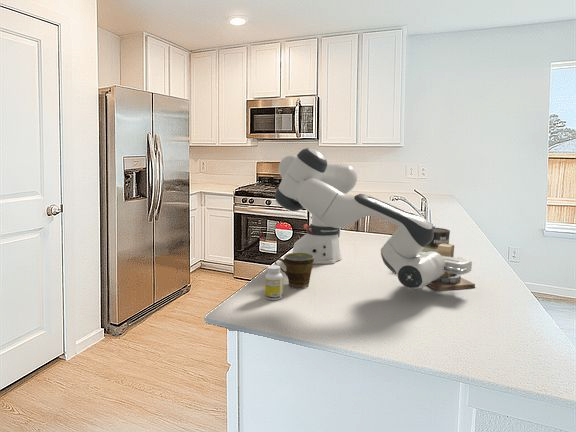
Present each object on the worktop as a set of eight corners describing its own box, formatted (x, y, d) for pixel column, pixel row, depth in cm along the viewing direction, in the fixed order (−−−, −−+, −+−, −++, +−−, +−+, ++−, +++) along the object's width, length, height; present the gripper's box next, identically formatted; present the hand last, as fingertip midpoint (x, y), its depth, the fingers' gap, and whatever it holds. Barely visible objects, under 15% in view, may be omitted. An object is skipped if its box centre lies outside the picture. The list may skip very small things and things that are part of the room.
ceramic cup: (312, 280, 152) (312, 252, 150) (315, 290, 142) (315, 260, 141) (274, 281, 152) (274, 252, 150) (274, 290, 142) (274, 260, 140)
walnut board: (437, 290, 143) (437, 287, 142) (415, 277, 156) (415, 274, 156) (474, 287, 146) (475, 284, 146) (450, 275, 159) (450, 272, 159)
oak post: (447, 281, 148) (450, 247, 146) (436, 279, 150) (438, 245, 149) (451, 279, 151) (454, 244, 149) (440, 276, 153) (442, 243, 152)
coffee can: (453, 267, 170) (455, 231, 167) (429, 269, 167) (432, 232, 165) (437, 260, 179) (439, 226, 177) (415, 262, 177) (417, 227, 174)
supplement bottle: (273, 293, 139) (273, 263, 137) (286, 297, 136) (286, 266, 134) (261, 298, 135) (261, 267, 133) (274, 302, 132) (274, 270, 130)
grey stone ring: (439, 284, 145) (439, 278, 144) (422, 275, 154) (423, 270, 154) (466, 282, 147) (466, 276, 147) (448, 274, 157) (449, 268, 156)
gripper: (464, 262, 133) (478, 253, 143) (401, 251, 146) (418, 244, 156) (463, 282, 134) (477, 272, 144) (400, 269, 147) (417, 261, 157)
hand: (446, 257), depth 150 cm, fingers open, 8 cm apart
